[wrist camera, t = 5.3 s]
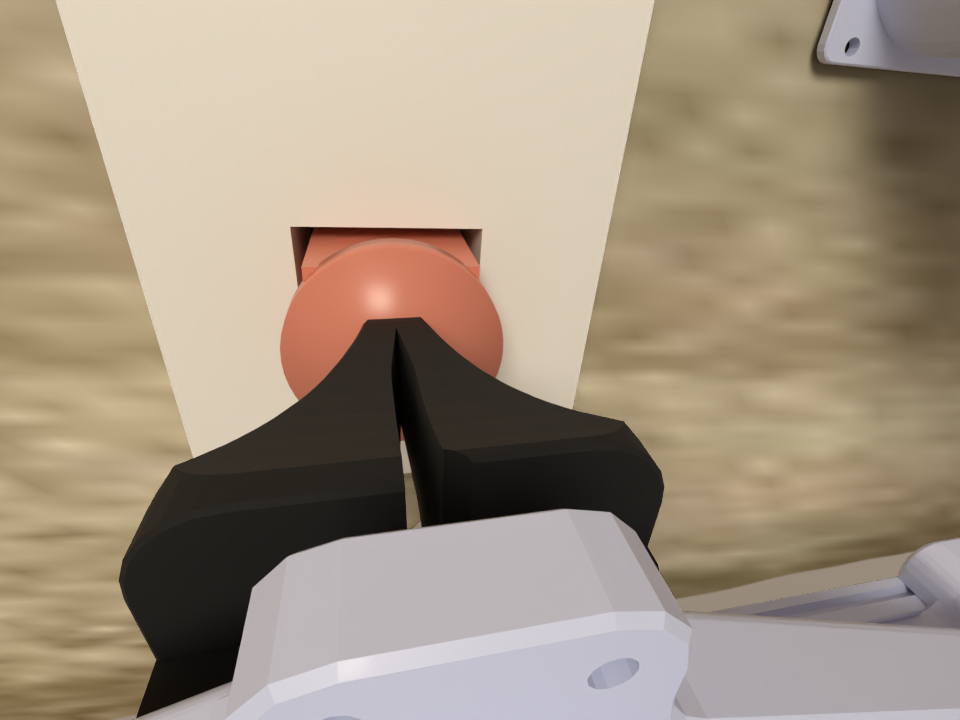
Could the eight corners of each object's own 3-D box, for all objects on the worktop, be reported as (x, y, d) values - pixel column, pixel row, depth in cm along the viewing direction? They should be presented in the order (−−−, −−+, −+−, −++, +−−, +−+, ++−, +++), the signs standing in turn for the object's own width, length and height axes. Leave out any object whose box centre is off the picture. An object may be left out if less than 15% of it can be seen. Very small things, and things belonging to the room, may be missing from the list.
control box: (685, -661, 9) (872, -1088, 6) (531, 396, 21) (562, 458, 18) (-101, -1005, 7) (-581, -2114, 3) (232, 415, 19) (203, 491, 15)
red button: (474, 201, 15) (513, 249, 11) (465, 352, 17) (494, 434, 13) (291, 197, 14) (263, 248, 10) (311, 358, 16) (294, 449, 12)
